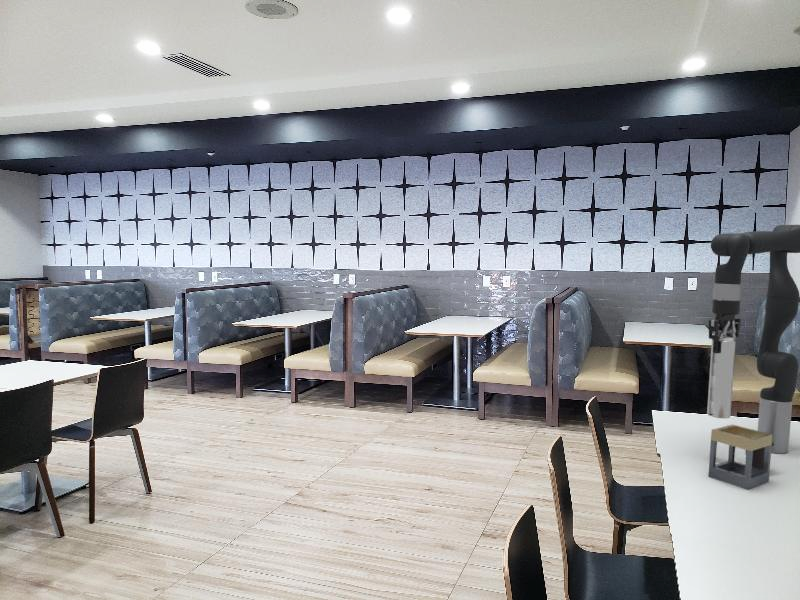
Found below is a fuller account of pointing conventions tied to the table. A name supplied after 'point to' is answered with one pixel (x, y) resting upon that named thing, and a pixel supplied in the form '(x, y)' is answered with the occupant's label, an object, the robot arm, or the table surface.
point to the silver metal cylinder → (721, 379)
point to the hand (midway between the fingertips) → (722, 351)
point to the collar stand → (749, 442)
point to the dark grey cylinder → (759, 457)
